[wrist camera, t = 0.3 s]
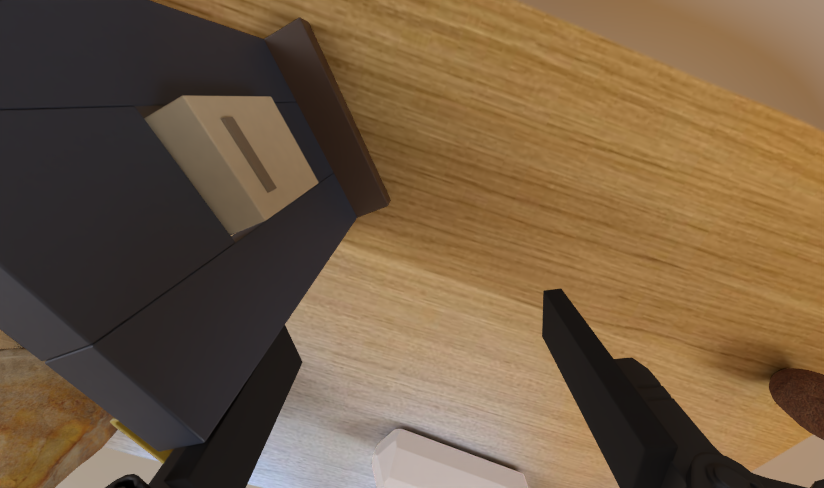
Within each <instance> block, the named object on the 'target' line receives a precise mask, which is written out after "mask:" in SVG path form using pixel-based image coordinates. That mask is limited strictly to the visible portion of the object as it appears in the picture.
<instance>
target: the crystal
mask: <svg viewBox="0 0 824 488" xmlns="http://www.w3.org/2000/svg"><path fill="white" fill-rule="evenodd" d="M372 468H373V473H374V478H375V482H376V487H377V488H528V485H527V482H526V479H525V476H524V474H523V473H520V472H517V471H515V470H512V469H509V468H507V467H504V466H501V465H499V464H496V463H493V462H490V461H488V460H485V459H482V458H480V457H477V456H474V455H471V454H469V453H466V452H463V451H461V450H458V449H455V448H452V447H450V446H447V445H444V444H442V443H439V442H436V441H433V440H431V439H428V438H425V437H423V436H420V435H417V434H414V433H412V432H409V431H406V430H404V429H394V430H393V431H392V432H391V433H390V434H388V435H387V436H386V437H385V438H384V439H383V440H382V441H381V442H379V443H378V444H377V446H376V448H375V451H374V453H373V458H372Z"/></svg>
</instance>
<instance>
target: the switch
mask: <svg viewBox="0 0 824 488" xmlns="http://www.w3.org/2000/svg"><path fill="white" fill-rule="evenodd" d="M144 119H145V121H146V122H147V123H148V125H149V126H150V127H151V129H152V130H153V131H154V133H155V134H156V135H157V137H158V138H159V140H160V141H161V142H162V144H163V145H164V146H165V148H166V149H167V150H168V152H169V153H170V154H171V156H172V157H173V159H174V160H175V161H176V163H177V164H178V165H179V167H180V168H181V169H182V171H183V172H184V173H185V175H186V176H187V177H188V179H189V180H190V182H191V183H192V184H193V186H194V187H195V188H196V190H197V191H198V192H199V194H200V195H201V196H202V198H203V199H204V201H205V202H206V203H207V205H208V206H209V207H210V209H211V210H212V211H213V213H214V214H215V215H216V217H217V218H218V219H219V221H220V222H221V224H222V225H223V226H224V228H225V229H226V230H227V232H228V233H229V234H230V235H232V234H235V233H237V232H240V231H242V230H244V229H247V228H249V227H252V226H254V225H256V224H259V223H261V222H264V221H266V220H267V219H269V218H270V217H272V216H273V215H274V214H276V213H277V212H279V211H280V210H281V209H283V208H284V207H286V206H287V205H289V204H290V203H291V202H293V201H294V200H296V199H297V198H298V197H300V196H301V195H303V194H304V193H305V192H307V191H308V190H310V189H311V188H312V187H314V186H315V185H317V184H318V180H317V179H316V177H315V175H314V173H313V171H312V170H311V168H310V166H309V164H308V162H307V161H306V159H305V157H304V155H303V153H302V152H301V150H300V148H299V146H298V144H297V143H296V141H295V139H294V137H293V135H292V134H291V132H290V130H289V128H288V126H287V124H286V123H285V121H284V119H283V117H282V115H281V114H280V112H279V110H278V108H277V106H276V105H275V103H274V101H273V99H272V97H271V96H181V97H179V98H177V99H176V100H174V101H172V102H171V103H169V104H167V105H166V106H164V107H162V108H161V109H159V110H157V111H156V112H154V113H152V114H151V115H149V116H147V117H145V118H144Z"/></svg>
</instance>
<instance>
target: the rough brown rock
mask: <svg viewBox="0 0 824 488" xmlns="http://www.w3.org/2000/svg"><path fill="white" fill-rule="evenodd" d="M112 418H113V416H112V415H110V414H109V413H108V412H106V411H105V410H104V409H103V408H101V407H100V406H99V405H97V404H96V403H95V402H94V401H92V400H91V399H90V398H88V397H87V396H86V395H85V394H83V393H82V392H81V391H79V390H78V389H77V388H76V387H74V386H73V385H72V384H70V383H69V382H68V381H67V380H65V379H64V378H63V377H61V376H60V375H59V374H58V373H56V372H55V371H54V370H52V369H51V368H50V367H49V366H47V365H46V364H45V361H40V360H39V359H38V358H37V357H35V356H34V355H33V354H31V353H30V352H29V351H28V350H26V349H23V348H14V349H0V488H55V487H56V486H57V485H58V484H59V483H60V482H61V481H63V480H64V479H65V478H66V477H67V476H68V475H69V474H70V473H71V472H72V471H74V470H75V469H76V468H77V467H78V466H80V465H81V464H82V463H84V462H85V461H86V460H88V459H89V458H90V457H91V456H93V455H94V454H95V453H96V452H97V451H98V450H100V449H101V448H102V447H103V446H104V445H105V444H106V442H107V441H108V440H109V439H110V438H111V437H112V436H113V435H114V433H115V432H116V431H117V430H118V429H117V428H116V427H115V426H113V425H112V424H111V423H110V420H111V419H112Z"/></svg>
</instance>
